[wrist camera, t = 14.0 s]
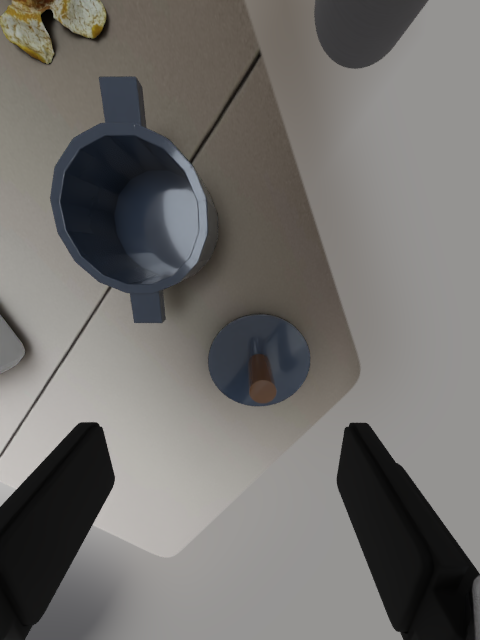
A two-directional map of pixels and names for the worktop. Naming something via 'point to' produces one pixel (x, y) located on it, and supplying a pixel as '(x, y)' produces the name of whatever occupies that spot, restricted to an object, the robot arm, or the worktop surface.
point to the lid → (259, 360)
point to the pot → (132, 204)
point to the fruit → (68, 8)
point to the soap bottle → (9, 347)
